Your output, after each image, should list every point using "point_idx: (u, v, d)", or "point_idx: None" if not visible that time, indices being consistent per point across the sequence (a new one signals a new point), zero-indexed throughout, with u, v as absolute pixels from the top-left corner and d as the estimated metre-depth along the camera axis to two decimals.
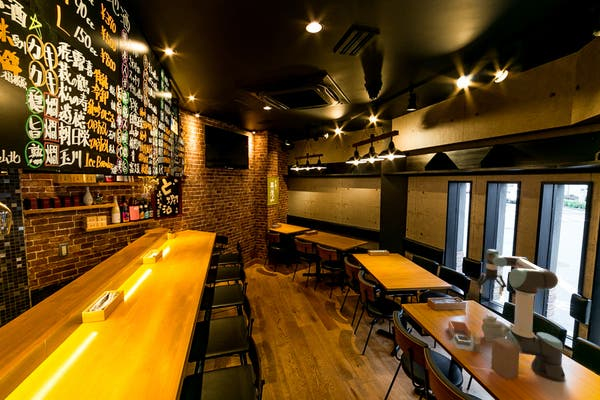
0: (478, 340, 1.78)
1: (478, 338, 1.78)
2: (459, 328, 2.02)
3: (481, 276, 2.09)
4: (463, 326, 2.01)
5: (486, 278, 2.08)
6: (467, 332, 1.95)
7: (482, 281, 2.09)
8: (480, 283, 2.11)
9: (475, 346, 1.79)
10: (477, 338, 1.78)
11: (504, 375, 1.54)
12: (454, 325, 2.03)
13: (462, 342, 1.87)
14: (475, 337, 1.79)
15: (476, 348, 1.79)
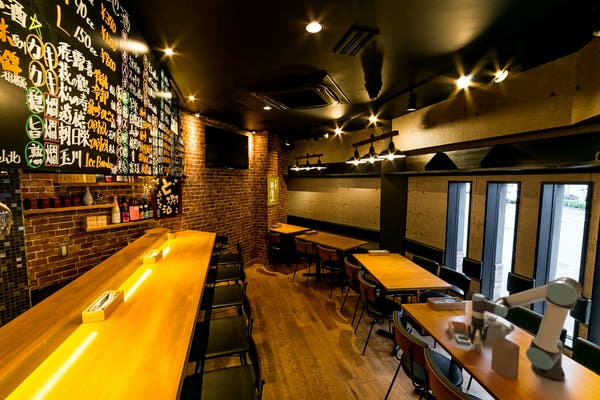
0: (478, 340, 1.78)
1: (478, 338, 1.78)
2: (459, 328, 2.02)
3: (468, 328, 1.80)
4: (463, 326, 2.01)
5: (474, 329, 1.79)
6: (467, 332, 1.95)
7: (472, 334, 1.80)
8: None
9: (475, 346, 1.79)
10: (477, 338, 1.78)
11: (504, 375, 1.54)
12: (454, 325, 2.03)
13: (462, 342, 1.87)
14: (475, 337, 1.79)
15: (476, 348, 1.79)
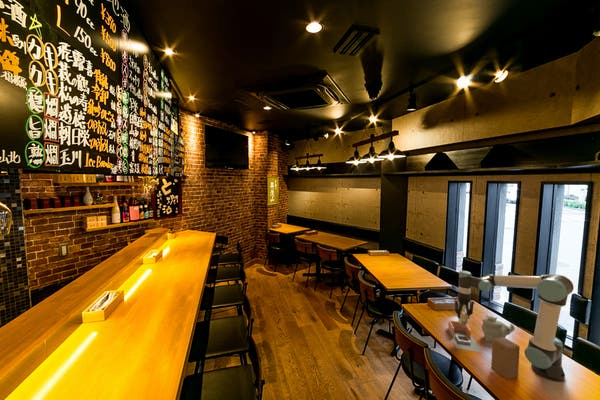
0: (464, 317, 1.87)
1: (464, 315, 1.87)
2: (459, 328, 2.02)
3: (455, 303, 1.89)
4: None
5: (460, 304, 1.88)
6: (467, 332, 1.95)
7: (459, 309, 1.89)
8: None
9: (461, 323, 1.88)
10: (463, 315, 1.87)
11: (504, 375, 1.54)
12: (454, 325, 2.03)
13: (462, 342, 1.87)
14: None
15: (462, 325, 1.88)
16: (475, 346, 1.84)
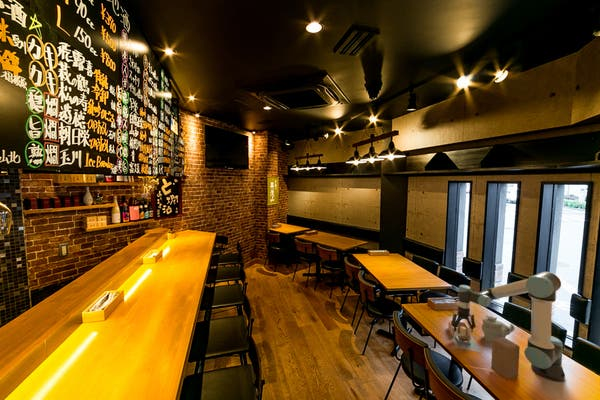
0: (464, 332, 1.88)
1: (464, 330, 1.88)
2: (459, 328, 2.02)
3: (454, 316, 1.89)
4: (463, 326, 2.01)
5: (459, 318, 1.88)
6: (467, 332, 1.95)
7: (456, 322, 1.89)
8: None
9: (461, 338, 1.89)
10: (463, 330, 1.88)
11: (504, 375, 1.54)
12: None
13: (462, 342, 1.87)
14: (461, 329, 1.89)
15: None
16: (475, 346, 1.84)
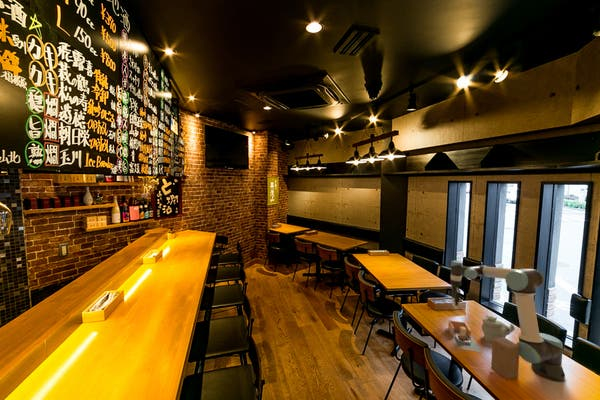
0: (463, 332, 1.88)
1: (463, 330, 1.88)
2: (459, 328, 2.02)
3: (453, 287, 2.14)
4: (463, 326, 2.01)
5: None
6: (467, 332, 1.95)
7: None
8: (455, 296, 2.12)
9: (461, 338, 1.89)
10: (463, 330, 1.88)
11: (504, 375, 1.54)
12: (454, 325, 2.03)
13: (462, 342, 1.87)
14: (461, 329, 1.89)
15: None
16: (475, 346, 1.84)
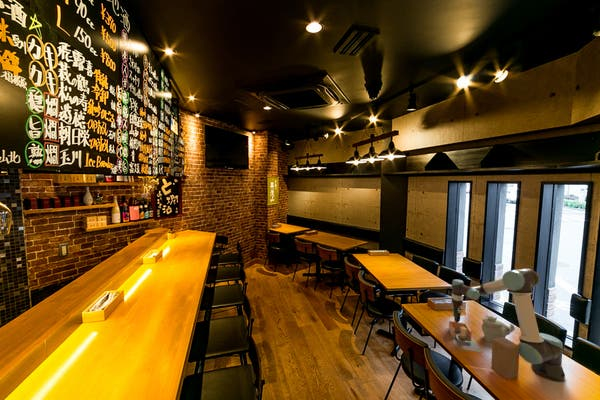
0: (464, 332, 1.87)
1: (464, 331, 1.87)
2: None
3: None
4: None
5: None
6: (468, 333, 1.93)
7: None
8: None
9: (461, 338, 1.89)
10: (463, 331, 1.87)
11: (504, 375, 1.54)
12: (455, 326, 2.02)
13: (462, 342, 1.87)
14: (461, 330, 1.88)
15: None
16: (475, 346, 1.84)
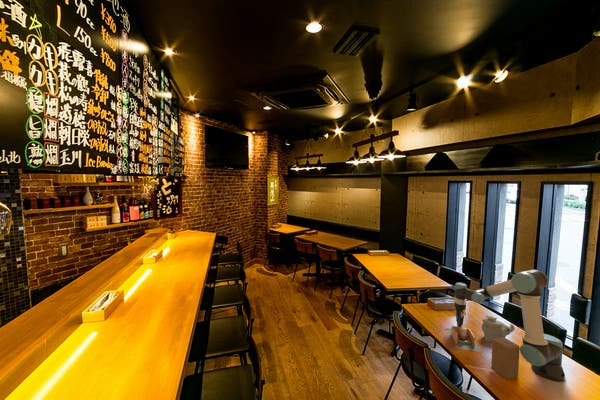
0: (464, 332, 1.87)
1: (465, 331, 1.87)
2: None
3: (457, 311, 2.03)
4: (467, 332, 1.93)
5: None
6: (471, 339, 1.86)
7: None
8: None
9: (462, 338, 1.88)
10: (464, 331, 1.87)
11: (504, 375, 1.54)
12: (457, 331, 1.95)
13: (462, 342, 1.87)
14: (462, 330, 1.88)
15: None
16: (475, 346, 1.84)
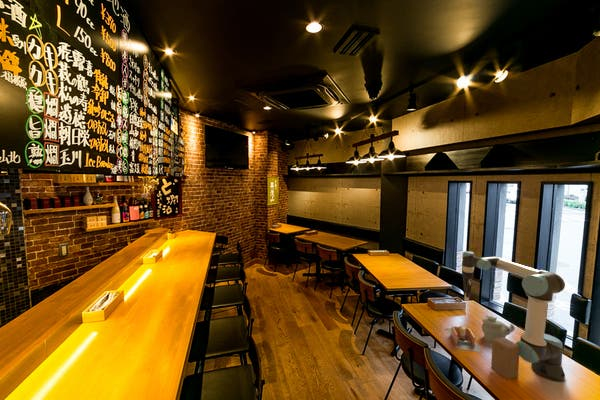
0: (464, 332, 1.88)
1: (464, 330, 1.88)
2: None
3: None
4: (467, 332, 1.93)
5: None
6: (471, 339, 1.86)
7: None
8: None
9: (462, 338, 1.88)
10: (463, 330, 1.88)
11: (504, 375, 1.54)
12: (457, 331, 1.95)
13: (462, 342, 1.87)
14: (461, 330, 1.88)
15: None
16: (475, 346, 1.84)
